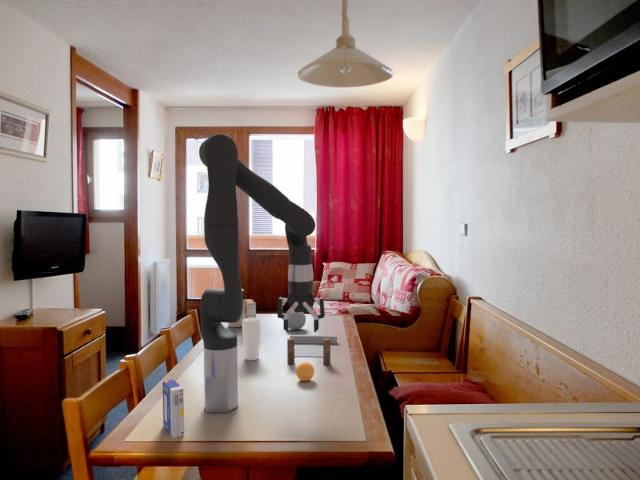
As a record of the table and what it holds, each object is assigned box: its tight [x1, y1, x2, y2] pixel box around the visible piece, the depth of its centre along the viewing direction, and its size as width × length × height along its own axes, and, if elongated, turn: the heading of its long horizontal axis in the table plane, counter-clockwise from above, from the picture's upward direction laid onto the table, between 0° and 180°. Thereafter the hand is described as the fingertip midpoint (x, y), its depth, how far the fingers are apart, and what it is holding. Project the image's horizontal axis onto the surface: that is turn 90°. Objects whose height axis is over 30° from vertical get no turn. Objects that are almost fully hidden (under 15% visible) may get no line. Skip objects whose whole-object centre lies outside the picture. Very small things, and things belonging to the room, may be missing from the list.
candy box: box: [244, 298, 257, 318], centre depth 206 cm, size 9×4×15 cm, turn 17°
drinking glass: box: [241, 317, 262, 362], centre depth 169 cm, size 7×7×15 cm
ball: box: [295, 361, 315, 382], centre depth 146 cm, size 6×6×6 cm
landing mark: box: [294, 345, 323, 358], centre depth 178 cm, size 14×14×1 cm
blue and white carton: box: [162, 379, 185, 439], centre depth 111 cm, size 8×3×12 cm, turn 36°
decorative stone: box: [288, 311, 307, 331], centre depth 213 cm, size 10×10×10 cm
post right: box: [322, 339, 331, 366], centre depth 163 cm, size 3×3×9 cm
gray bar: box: [289, 334, 338, 345], centre depth 191 cm, size 2×20×3 cm, turn 87°
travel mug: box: [228, 288, 245, 328], centre depth 222 cm, size 8×8×18 cm
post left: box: [286, 337, 296, 365], centre depth 163 cm, size 3×3×9 cm
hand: (301, 331), depth 137 cm, fingers open, 8 cm apart
